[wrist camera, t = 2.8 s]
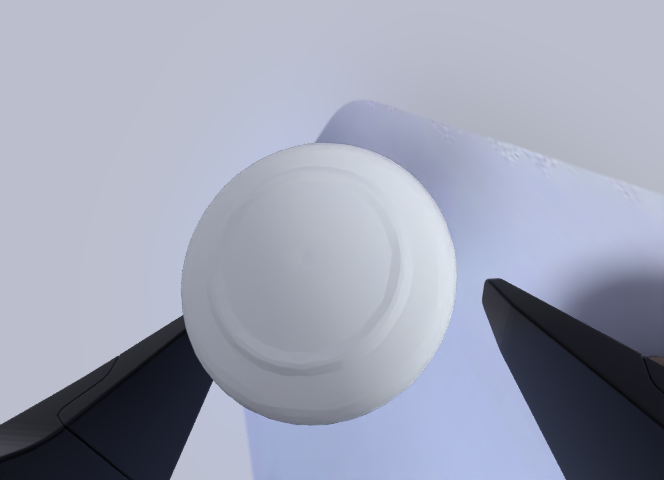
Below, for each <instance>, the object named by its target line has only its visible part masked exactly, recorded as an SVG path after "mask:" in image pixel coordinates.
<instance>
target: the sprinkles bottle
mask: <svg viewBox="0 0 664 480" xmlns="http://www.w3.org/2000/svg"><path fill="white" fill-rule="evenodd" d="M456 280H457V268H456V258H455V252H454V246H453V243H452V239H451V236H450V233H449V230H448V227H447V224H446V222H445V220H444V217H443V215H442V213H441V211H440V209H439V208H438V206H437V205H436V203H435V202H434V200H433V199H432V197H431V196H430V194H429V193H428V191H427V190H426V189H425V188H424V187H423V186H422V185H421V183H420V182H419V181H418V180H417V179H416V178H414V177H413V176H412V175H411V174H410V173H409V172H408V171H406V170H405V169H404V168H403V167H401V166H400V165H398V164H396V163H395V162H393V161H392V160H390V159H388V158H386V157H384V156H382V155H380V154H378V153H375V152H373V151H371V150H367V149H364V148H361V147H357V146H353V145H346V144H337V143H312V144H305V145H299V146H295V147H291V148H288V149H285V150H281V151H278V152H276V153H274V154H271V155H269V156H268V157H265V158H263V159H261V160H259V161H257V162H256V163H254V164H252V165H251V166H249V167H248V168H246V169H245V170H243V171H242V172H240V173H239V174H237V175H236V176H235V177H234V178H233V179H232V180H231V181H230V182H229V183H228V184H227V185H226V186H224V188H223V189H222V190H221V191H220V192H219V193H218V194H217V196H216V197H215V198H214V200H213V201H212V202H211V204H210V205H209V206H208V208H207V209H206V210H205V212H204V214H203V216H202V217H201V219H200V221H199V223H198V225H197V227H196V229H195V231H194V233H193V235H192V238H191V241H190V243H189V246H188V250H187V253H186V257H185V261H184V266H183V273H182V282H181V284H182V285H181V296H182V308H183V316H184V321H185V326H186V330H187V333H188V336H189V339H190V342H191V344H192V347H193V349H194V351H195V354H196V356H197V358H198V359H199V361H200V362H201V364H202V366H203V367H204V369H205V370H206V371H207V373H208V374H209V375H210V377H211V378H212V379H213V380H214V381H215V383H216V384H217V385H218V386H219V387H220V388H221V389H222V390H223V391H224V392H225V393H226V394H228V395H229V396H230V397H232V398H233V399H234V400H235V401H237V402H238V403H239V404H241V405H242V406H244V407H245V408H247V409H249V410H251V411H253V412H255V413H258V414H260V415H262V416H265V417H267V418H269V419H273V420H276V421H280V422H284V423H290V424H296V425H329V424H334V423H339V422H343V421H348V420H351V419H354V418H357V417H360V416H363V415H365V414H368V413H370V412H372V411H374V410H375V409H377V408H379V407H381V406H383V405H385V404H386V403H388V402H389V401H391V400H392V399H393V398H395V397H396V396H398V395H399V394H400V393H402V392H403V391H404V390H405V389H407V388H408V387H409V386H410V385H411V384H412V383H413V382H414V381H415V380H416V379H417V377H418V376H419V375H420V374H421V373H422V372H423V370H424V369H425V368H426V366H427V365H428V363H429V362H430V361H431V359H432V358H433V356H434V354H435V353H436V351H437V349H438V348H439V346H440V344H441V342H442V340H443V338H444V336H445V333H446V331H447V328H448V326H449V322H450V319H451V315H452V312H453V308H454V303H455V295H456Z"/></svg>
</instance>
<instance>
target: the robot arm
mask: <svg viewBox="0 0 664 480" xmlns="http://www.w3.org/2000/svg"><path fill="white" fill-rule="evenodd" d="M482 304H483V307H484V310H485V312H486V315H487V318H488V320H489V323H490V326H491V328H492V331H493V334H494V336H495V339H496V342H497V344H498V347H499V349H500V351H501V353H502V355H503V358H504V359H505V361H506V363H507V365H508V367H509V369H510V371H511V373H512V375H513V377H514V379H515V381H516V383H517V385H518V387H519V389H520V391H521V393H522V395H523V397H524V399H525V401H526V402H527V404H528V406H529V408H530V410H531V412H532V414H533V416H534V418H535V420H536V422H537V424H538V426H539V428H540V430H541V432H542V434H543V436H544V438H545V440H546V442H547V444H548V445H549V447H550V449H551V451H552V453H553V455H554V457H555V459H556V461H557V463H558V465H559V467H560V469H561V471H562V473H563V475H564V477H565V479H566V480H664V366H663V365H661V364H659V363H657V362H656V361H654V360H652V359H650V358H648V357H645V356H644V357H643V356H642V354H640V353H639V352H637V351H635V350H633V349H631V348H629V347H627V346H626V345H624V344H622V343H620V342H618V341H616V340H614V339H613V338H611V337H609V336H607V335H605V334H603V333H601V332H600V331H598V330H596V329H594V328H592V327H590V326H588V325H587V324H585V323H583V322H581V321H579V320H577V319H575V318H574V317H572V316H570V315H568V314H566V313H564V312H562V311H560V310H559V309H557V308H555V307H553V306H551V305H549V304H547V303H546V302H544V301H542V300H540V299H538V298H536V297H534V296H533V295H531V294H529V293H527V292H525V291H523V290H521V289H520V288H518V287H516V286H514V285H512V284H510V283H508V282H507V281H505V280H503V279H500V278H495V279H487V280H486V281H485V283H484V290H483V296H482ZM212 382H213V379H212V378H211V377H210V375H209V374H208V373H207V371H206V370H205V369H204V367H203V366H202V364H201V362H200V361H199V359H198V358H197V356H196V354H195V351H194V349H193V347H192V344H191V342H190V339H189V336H188V333H187V330H186V326H185V321H184V316H183V315H182V316H181V317H179V318H178V319H176V320H174V321H173V322H171V323H170V324H168V325H166V326H165V327H163V328H162V329H160V330H158V331H157V332H155V333H154V334H152V335H150V336H149V337H147V338H146V339H144V340H142V341H141V342H139V343H138V344H136V345H134V346H133V347H131V348H130V349H128V350H127V351H125V352H123V353H122V354H120V356H117V357H115V358H114V359H112V360H110V361H109V362H108V363H106V364H104V365H102V366H101V367H99V368H97V369H96V370H94V371H93V372H91V373H89V374H88V375H86V376H85V377H83V378H81V379H80V380H78V381H76V382H74V383H72V384H71V385H69V386H67V387H66V388H64V389H62V390H60V391H59V392H57V393H55V394H53V395H52V396H50V397H48V398H47V399H45V400H43V401H41V402H39V403H38V404H36V405H34V406H32V407H31V408H29V409H27V410H26V411H24V412H22V413H20V414H19V415H17V416H15V417H13V418H11V419H10V420H8V421H6V422H4V423H3V424H1V425H0V480H170V478H171V476H172V473H173V471H174V469H175V467H176V464H177V462H178V460H179V457H180V455H181V453H182V451H183V448H184V446H185V444H186V441H187V439H188V437H189V435H190V432H191V430H192V428H193V425H194V423H195V421H196V418H197V416H198V414H199V412H200V409H201V407H202V405H203V402H204V400H205V398H206V396H207V393H208V391H209V389H210V386H211V384H212Z"/></svg>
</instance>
